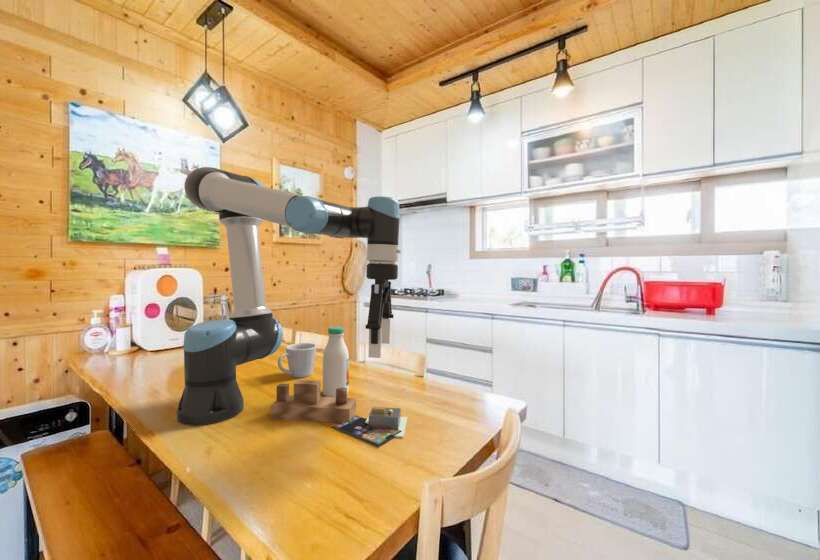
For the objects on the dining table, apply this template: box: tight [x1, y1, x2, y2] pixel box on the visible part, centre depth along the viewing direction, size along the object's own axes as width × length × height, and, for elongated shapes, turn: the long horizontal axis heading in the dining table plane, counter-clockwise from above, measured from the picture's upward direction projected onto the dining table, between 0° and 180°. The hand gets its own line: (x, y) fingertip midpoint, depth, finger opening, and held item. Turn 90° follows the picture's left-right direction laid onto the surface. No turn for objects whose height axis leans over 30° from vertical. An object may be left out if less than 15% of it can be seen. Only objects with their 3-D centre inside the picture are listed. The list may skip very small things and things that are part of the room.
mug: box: [277, 342, 318, 379], centre depth 122 cm, size 10×15×10 cm
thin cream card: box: [366, 414, 408, 439], centre depth 86 cm, size 10×10×1 cm
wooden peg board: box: [270, 379, 357, 423], centre depth 92 cm, size 20×7×8 cm, turn 85°
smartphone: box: [331, 414, 402, 448], centre depth 84 cm, size 8×15×1 cm, turn 54°
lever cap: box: [368, 406, 402, 430], centre depth 86 cm, size 7×5×4 cm
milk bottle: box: [322, 325, 350, 397], centre depth 107 cm, size 8×8×20 cm
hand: (379, 349), depth 87 cm, fingers open, 13 cm apart
